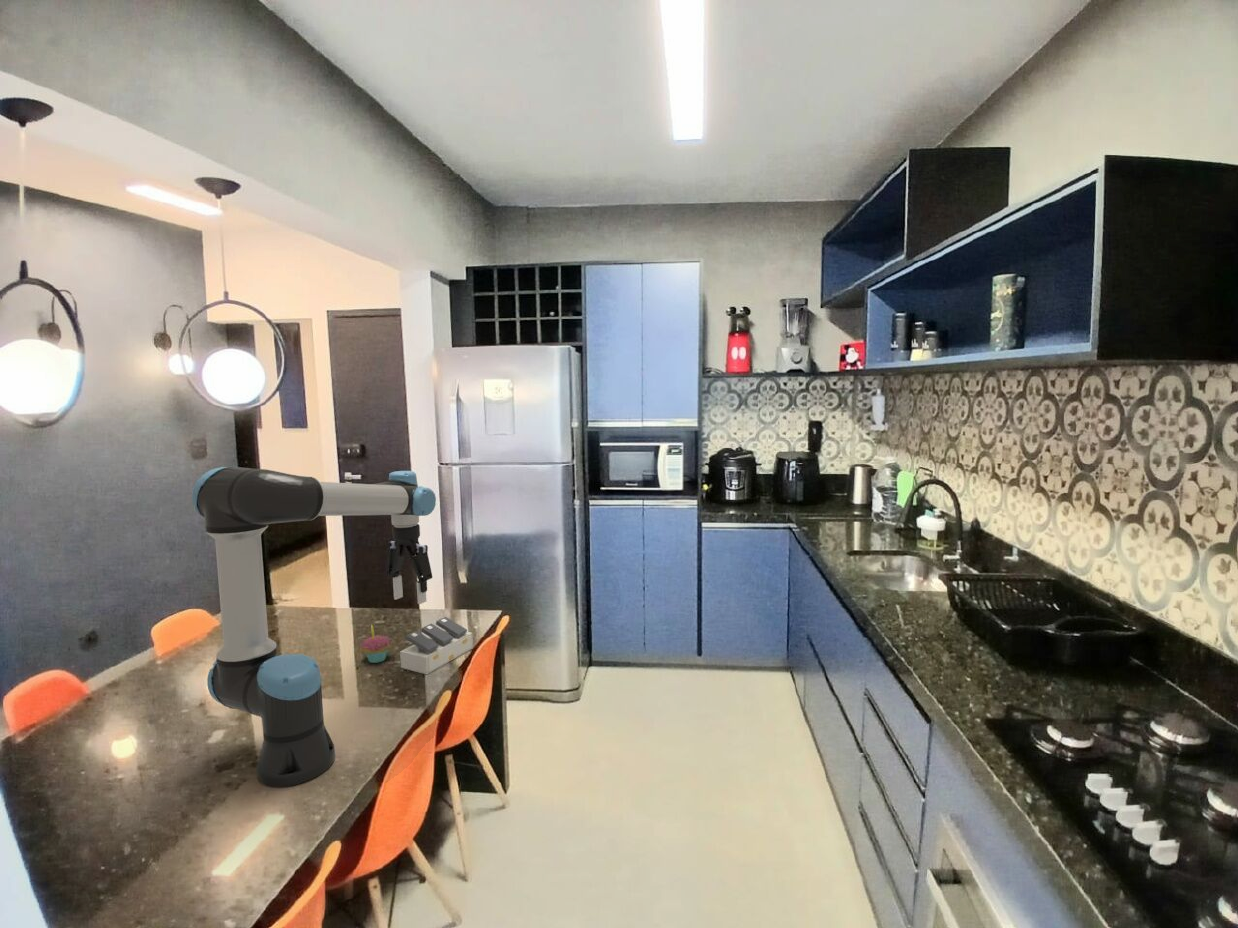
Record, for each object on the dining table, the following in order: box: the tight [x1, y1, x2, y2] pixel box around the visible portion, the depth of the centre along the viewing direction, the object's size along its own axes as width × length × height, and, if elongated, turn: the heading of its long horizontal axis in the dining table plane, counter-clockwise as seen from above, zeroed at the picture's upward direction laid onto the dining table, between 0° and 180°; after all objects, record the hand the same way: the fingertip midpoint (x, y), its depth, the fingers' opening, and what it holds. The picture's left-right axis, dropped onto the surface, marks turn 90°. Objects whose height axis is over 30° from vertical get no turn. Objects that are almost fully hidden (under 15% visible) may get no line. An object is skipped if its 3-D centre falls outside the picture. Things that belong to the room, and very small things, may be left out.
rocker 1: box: [405, 630, 439, 653], centre depth 184 cm, size 4×9×1 cm, turn 63°
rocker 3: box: [435, 616, 468, 638], centre depth 195 cm, size 4×9×1 cm, turn 63°
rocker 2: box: [420, 623, 453, 645], centre depth 190 cm, size 4×9×1 cm, turn 63°
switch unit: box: [399, 629, 474, 675], centre depth 190 cm, size 20×10×6 cm, turn 153°
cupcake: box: [360, 623, 392, 664], centre depth 189 cm, size 9×8×12 cm
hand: (410, 600), depth 184 cm, fingers open, 9 cm apart
